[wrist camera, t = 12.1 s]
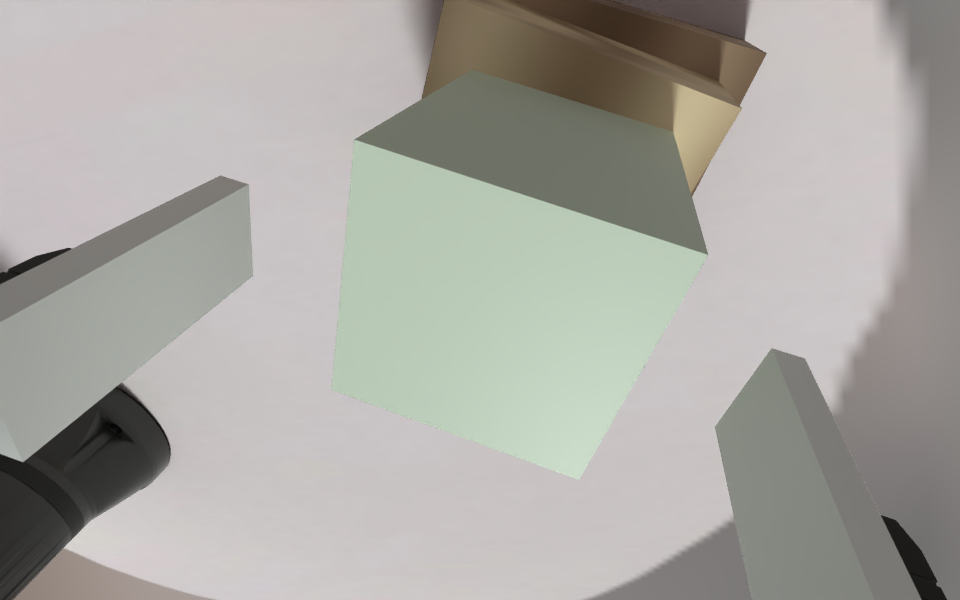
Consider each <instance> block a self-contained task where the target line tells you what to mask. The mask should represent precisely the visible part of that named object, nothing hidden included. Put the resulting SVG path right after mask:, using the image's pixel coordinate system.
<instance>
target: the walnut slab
mask: <svg viewBox="0 0 960 600" xmlns="http://www.w3.org/2000/svg"><path fill="white" fill-rule="evenodd" d="M510 1H513V2H516V3H518V4H521V5H523V6H526V7H529V8H531V9H534V10H536V11H539V12H541V13H544V14H547V15H549V16H552V17H554V18H557V19H560V20H562V21H565V22H567V23H570V24H572V25H575V26H578V27H580V28H583V29H585V30H588V31H591V32H593V33H596V34H598V35H601V36H603V37H606V38H609V39H611V40H614V41H616V42H619V43H622V44H624V45H627V46H629V47H632V48H635V49H637V50H640V51H642V52H645V53H647V54H650V55H653V56H655V57H658V58H660V59H663V60H666V61H668V62H671V63H673V64H676V65H678V66H681V67H684V68H686V69H689V70H691V71H694V72H697V73H699V74H702V75H704V76H707V77H709V78H712V79H715V80H717V81H719V82H720V83H721V84H722V85H723V86H724V88H725V89H726V90H727V91H728V92H729V94H730V95H731V96H732V97H733V98H734V100H735V101H736V102H737V103H738V104H739V106H740V104H741V102H742V100H743V98H744V96H745V94H746V92H747V90H748V88H749V86H750V84H751V82H752V81H753V79H754V77H755V75H756V73H757V71H758V69H759V67H760V65H761V63H762V61H763V59H764V58H765V56H766V54H767V53H765V52H763V51H762V50H760V49H758V48H757V47H755V46H753V45H751V44H750V43H748V42H746V41H745V40H741V39H738V38H735V37H731V36H728V35H725V34H721V33H718V32H715V31H711V30H708V29H705V28H701V27H698V26H695V25H691V24H688V23H685V22H681V21H678V20H675V19H671V18H668V17H665V16H661V15H658V14H655V13H651V12H648V11H645V10H641V9H638V8H635V7H631V6H628V5H625V4H621V3H618V2H614V1H611V0H510ZM708 165H709V164H708ZM707 167H708V166H707ZM706 169H707V168H706ZM706 169H705V171H706ZM705 171H704V173H705ZM704 173H703V174H702V176H701V178H702V177H703V175H704ZM701 178H700V179H699V181H698V183H697V184H696V186H695V188H694V189H693V191H692V193H691V196H693V194H694V192H695V190H696V188H697V186H698V184H699V182H700V180H701Z"/></svg>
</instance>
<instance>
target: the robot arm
mask: <svg viewBox="0 0 960 600" xmlns="http://www.w3.org/2000/svg"><path fill="white" fill-rule="evenodd" d="M252 276H253V269H252V247H251V226H250V205H249V184H245V183H242V182H239V181H236V180H233V179H229V178H226V177H223V176H219V177H217V178H215V179H213V180H211V181H209V182H207V183H204V184H202V185H200V186H198V187H196V188H194V189H192V190H190V191H188V192H186V193H184V194H182V195H180V196H178V197H176V198H174V199H172V200H170V201H168V202H166V203H164V204H162V205H160V206H158V207H156V208H154V209H152V210H150V211H148V212H146V213H144V214H142V215H140V216H138V217H136V218H134V219H132V220H130V221H128V222H126V223H124V224H122V225H119V226H117V227H115V228H113V229H111V230H109V231H107V232H105V233H103V234H101V235H99V236H97V237H95V238H93V239H91V240H89V241H87V242H85V243H83V244H81V245H79V246H77V247H75V248H73V249H71V248H66V249H62V250H58V251H54V252H50V253H46V254H42V255H38V256H35V257H33V258H31V259H29V260H27V261H25V262H23V263H21V264H18V265H16V266H14V267H12V268H10V269H9V271H8V272H7V273H5V272H2V273H0V600H13V599H14V598H15V597H16V596H17V595H18V594H19V593H20V592H21V591H22V590H23V589H24V588H25V587H26V586H27V585H28V584H29V583H30V582H31V581H32V579H34V578H35V577H36V576H37V575H38V573H39V572H40V571H41V570H42V569H43V568H44V567H45V566H46V565H47V564H48V563H49V562H50V561H51V560H52V559H53V558H54V557H55V556H56V555H57V554H58V553H59V552H60V551H61V550H62V549H63V548H64V547H65V546H66V545H67V544H68V543H69V542H70V541H71V540H72V539H73V538H74V537H75V536H76V535H77V534H78V533H79V532H80V531H81V529H82V528H83V527H84V526H86V525H87V524H88V523H89V522H90V521H91V520H92V519H94V518H96V517H97V516H99V515H100V514H102V513H104V512H105V511H107V510H109V509H110V508H112V507H114V506H115V505H117V504H119V503H120V502H122V501H123V500H125V499H127V498H128V497H130V496H131V495H133V494H134V493H136V492H137V491H139V490H141V489H143V488H145V487H147V486H148V485H149V484H151V483H152V482H153V481H154V480H155V479H156V478H157V477H158V475H159V474H160V473H161V472H162V471H163V470H164V469H165V468H166V467H167V465H168V464H169V461H170V449H169V446H168V443H167V440H166V438H165V436H164V434H163V433H162V431H161V429H160V428H159V426H158V425H157V424H156V422H155V421H154V420H153V419H152V418H151V416H150V415H149V414H148V413H147V412H146V411H145V410H144V409H143V408H142V407H141V406H140V405H139V404H137V403H136V402H135V401H134V400H133V399H131V398H130V397H129V396H127V395H126V394H125V393H123V392H122V391H120V390H119V389H117V388H116V386H118V385H119V384H120V383H121V382H123V381H124V380H125V379H126V378H128V377H129V376H130V375H131V374H133V373H134V372H135V371H136V370H137V369H139V368H140V367H141V366H142V365H144V364H145V363H146V362H147V361H149V360H150V359H151V358H152V357H153V356H155V355H156V354H157V353H158V352H160V351H161V350H162V349H163V348H165V347H166V346H167V345H168V344H170V343H171V342H172V341H173V340H174V339H176V338H177V337H178V336H179V335H181V334H182V333H183V332H184V331H186V330H187V329H188V328H189V327H190V326H192V325H193V324H194V323H195V322H197V321H198V320H199V319H200V318H202V317H203V316H204V315H205V314H207V313H208V312H209V311H210V310H211V309H213V308H214V307H215V306H216V305H218V304H219V303H220V302H221V301H223V300H224V299H225V298H226V297H228V296H229V295H230V294H231V293H232V292H234V291H235V290H236V289H237V288H239V287H240V286H241V285H242V284H244V283H245V282H246V281H247V280H248V279H250V278H251V277H252ZM715 429H716V434H717V438H718V443H719V448H720V453H721V457H722V462H723V467H724V472H725V476H726V481H727V486H728V491H729V495H730V500H731V505H732V510H733V514H734V519H735V524H736V528H737V533H738V538H739V543H740V547H741V552H742V557H743V562H744V567H745V571H746V576H747V581H748V585H749V590H750V595H751V600H947V599H946V597H945V595H944V593H943V591H942V589H941V588H940V587H937V585H936V583H937V580H936V578H935V576H934V574H933V572H932V570H931V568H930V566H929V564H928V563H927V561H926V559H925V557H924V555H923V553H922V551H921V550H920V548H919V547H918V546H917V545H916V544H915V542H914V541H913V540H912V539H911V538H910V537H909V535H908V534H907V533H906V532H905V531H904V529H903V528H902V527H901V526H900V525H899V523H898V522H897V521H896V520H894V519H891V518H888V517H885V516H882V515H880V513H879V511H878V509H877V507H876V505H875V503H874V500H873V498H872V496H871V494H870V492H869V490H868V488H867V486H866V484H865V482H864V480H863V478H862V476H861V474H860V472H859V469H858V467H857V465H856V463H855V461H854V459H853V457H852V455H851V453H850V451H849V449H848V447H847V445H846V443H845V441H844V438H843V436H842V434H841V432H840V430H839V428H838V426H837V424H836V422H835V420H834V418H833V416H832V414H831V412H830V410H829V407H828V405H827V403H826V401H825V399H824V397H823V395H822V393H821V391H820V389H819V387H818V385H817V383H816V381H815V379H814V376H813V374H812V372H811V370H810V368H809V366H808V364H807V362H806V360H805V359H804V358H801V357H798V356H795V355H792V354H788V353H785V352H782V351H779V350H776V349H771V350H770V351H769V353H768V354H767V356H766V357H765V358H764V360H763V361H762V363H761V364H760V365H759V367H758V368H757V369H756V371H755V372H754V374H753V375H752V376H751V378H750V379H749V381H748V382H747V383H746V385H745V386H744V388H743V389H742V390H741V392H740V393H739V394H738V396H737V397H736V399H735V400H734V401H733V403H732V404H731V406H730V407H729V408H728V410H727V411H726V413H725V414H724V415H723V417H722V418H721V419H720V421H719V422H718V424H717V425H716V426H715Z"/></svg>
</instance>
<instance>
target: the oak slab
mask: <svg viewBox="0 0 960 600" xmlns="http://www.w3.org/2000/svg"><path fill="white" fill-rule="evenodd" d="M470 70H476V71H479V72H482V73H485V74H489V75H492V76H495V77H498V78H501V79H505V80H508V81H511V82H514V83H518V84H521V85H524V86H527V87H531V88H534V89H537V90H540V91H543V92H547V93H550V94H553V95H556V96H560V97H563V98H566V99H569V100H572V101H576V102H579V103H582V104H585V105H589V106H592V107H595V108H598V109H601V110H605V111H608V112H611V113H614V114H618V115H621V116H624V117H627V118H630V119H634V120H637V121H640V122H643V123H647V124H650V125H653V126H656V127H659V128H663V129H666V130H669V131H672V132H674V136H675V140H676V143H677V147H678V150H679V154H680V157H681V161H682V164H683V168H684V171H685V175H686V178H687V182H688V185H689V189H690V192H691V193H692V191H693V189H694V188H695V186H696V184H697V183H698V181H699V179H700V178H701V176H702V174H703V173H704V171H705V169H706V168H707V166H708V164H709V163H710V161H711V159H712V158H713V156H714V154H715V153H716V151H717V149H718V148H719V146H720V144H721V143H722V141H723V139H724V138H725V136H726V134H727V133H728V131H729V129H730V128H731V126H732V124H733V123H734V121H735V119H736V118H737V116H738V114H739V113H740V111H741V109H742V108H741V107H740V106H739V104H738V103H737V102H736V101H735V100H734V98H733V97H732V96H731V95H730V94H729V92H728V91H727V90H726V89H725V88H724V86H723V85H722V84H721V83H720V82H719V81H717V80H715V79H712V78H709V77H707V76H704V75H702V74H699V73H697V72H694V71H691V70H689V69H686V68H684V67H681V66H678V65H676V64H673V63H671V62H668V61H666V60H663V59H660V58H658V57H655V56H653V55H650V54H647V53H645V52H642V51H640V50H637V49H635V48H632V47H629V46H627V45H624V44H622V43H619V42H616V41H614V40H611V39H609V38H606V37H603V36H601V35H598V34H596V33H593V32H591V31H588V30H585V29H583V28H580V27H578V26H575V25H572V24H570V23H567V22H565V21H562V20H560V19H557V18H554V17H552V16H549V15H547V14H544V13H541V12H539V11H536V10H534V9H531V8H529V7H526V6H523V5H521V4H518V3H516V2H513V1H510V0H444V3H443V7H442V12H441V16H440V20H439V25H438V29H437V34H436V38H435V42H434V47H433V51H432V55H431V60H430V64H429V69H428V73H427V77H426V82H425V86H424V90H423V95H422V99H423V98H425V97H427V96H428V95H430V94H432V93H433V92H435V91H437V90H438V89H440V88H442V87H443V86H445V85H447V84H448V83H450V82H452V81H453V80H455V79H457V78H459V77H460V76H462V75H464V74H465V73H467V72H469V71H470ZM422 99H421V100H422Z"/></svg>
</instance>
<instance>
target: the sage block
mask: <svg viewBox="0 0 960 600" xmlns="http://www.w3.org/2000/svg"><path fill="white" fill-rule="evenodd" d="M707 256H708V252H707V249H706V245H705V242H704V238H703V235H702V231H701V228H700V224H699V221H698V217H697V214H696V210H695V206H694V203H693V199H692V196H691V192H690V189H689V185H688V182H687V178H686V175H685V171H684V168H683V164H682V161H681V157H680V154H679V150H678V147H677V143H676V140H675V136H674V132H672V131H669V130H666V129H663V128H659V127H656V126H653V125H650V124H647V123H643V122H640V121H637V120H634V119H630V118H627V117H624V116H621V115H618V114H614V113H611V112H608V111H605V110H601V109H598V108H595V107H592V106H589V105H585V104H582V103H579V102H576V101H572V100H569V99H566V98H563V97H560V96H556V95H553V94H550V93H547V92H543V91H540V90H537V89H534V88H531V87H527V86H524V85H521V84H518V83H514V82H511V81H508V80H505V79H501V78H498V77H495V76H492V75H489V74H485V73H482V72H479V71H476V70H470V71H469V72H467V73H465V74H464V75H462V76H460V77H459V78H457V79H455V80H453V81H452V82H450V83H448V84H447V85H445V86H443V87H442V88H440V89H438V90H437V91H435V92H433V93H432V94H430V95H428V96H427V97H425V98H423V99H422V100H420V101H418V102H417V103H415V104H413V105H412V106H410V107H408V108H406V109H405V110H403V111H401V112H400V113H398V114H396V115H395V116H393V117H391V118H390V119H388V120H386V121H385V122H383V123H381V124H380V125H378V126H376V127H375V128H373V129H371V130H370V131H368V132H366V133H365V134H363V135H361V136H359V137H358V138H356V139H354V148H353V159H352V170H351V181H350V192H349V203H348V214H347V225H346V236H345V247H344V258H343V269H342V280H341V291H340V302H339V313H338V324H337V335H336V346H335V357H334V368H333V379H332V390H333V391H336V392H339V393H342V394H344V395H347V396H350V397H353V398H355V399H358V400H361V401H364V402H366V403H369V404H372V405H375V406H377V407H380V408H383V409H386V410H388V411H391V412H394V413H397V414H399V415H402V416H405V417H408V418H410V419H413V420H416V421H418V422H421V423H424V424H427V425H429V426H432V427H435V428H438V429H440V430H443V431H446V432H449V433H451V434H454V435H457V436H460V437H462V438H465V439H468V440H471V441H473V442H476V443H479V444H482V445H484V446H487V447H490V448H493V449H495V450H498V451H501V452H504V453H506V454H509V455H512V456H515V457H517V458H520V459H523V460H526V461H528V462H531V463H534V464H537V465H539V466H542V467H545V468H548V469H550V470H553V471H556V472H558V473H561V474H564V475H567V476H569V477H572V478H575V479H578V480H579V478H580V477H581V475H582V473H583V471H584V470H585V468H586V466H587V464H588V463H589V461H590V459H591V458H592V456H593V454H594V452H595V451H596V449H597V447H598V445H599V444H600V442H601V440H602V438H603V437H604V435H605V433H606V432H607V430H608V428H609V426H610V425H611V423H612V421H613V419H614V418H615V416H616V414H617V412H618V411H619V409H620V407H621V406H622V404H623V402H624V400H625V399H626V397H627V395H628V393H629V392H630V390H631V388H632V386H633V385H634V383H635V381H636V379H637V378H638V376H639V374H640V373H641V371H642V369H643V367H644V366H645V364H646V362H647V360H648V359H649V357H650V355H651V353H652V352H653V350H654V348H655V347H656V345H657V343H658V341H659V340H660V338H661V336H662V334H663V333H664V331H665V329H666V327H667V326H668V324H669V322H670V321H671V319H672V317H673V315H674V314H675V312H676V310H677V308H678V307H679V305H680V303H681V301H682V300H683V298H684V296H685V295H686V293H687V291H688V289H689V288H690V286H691V284H692V282H693V281H694V279H695V277H696V275H697V274H698V272H699V270H700V268H701V267H702V265H703V263H704V262H705V260H706V258H707Z"/></svg>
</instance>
